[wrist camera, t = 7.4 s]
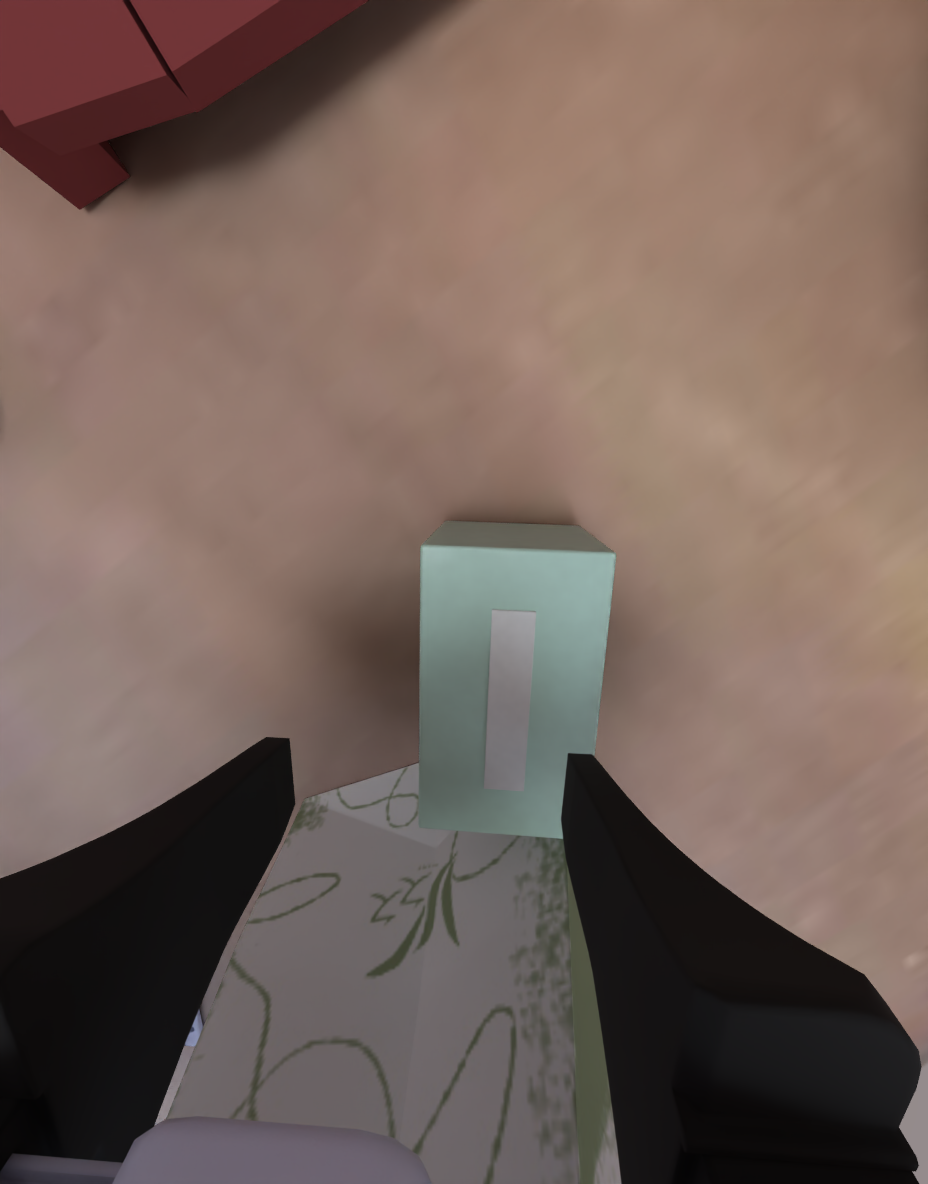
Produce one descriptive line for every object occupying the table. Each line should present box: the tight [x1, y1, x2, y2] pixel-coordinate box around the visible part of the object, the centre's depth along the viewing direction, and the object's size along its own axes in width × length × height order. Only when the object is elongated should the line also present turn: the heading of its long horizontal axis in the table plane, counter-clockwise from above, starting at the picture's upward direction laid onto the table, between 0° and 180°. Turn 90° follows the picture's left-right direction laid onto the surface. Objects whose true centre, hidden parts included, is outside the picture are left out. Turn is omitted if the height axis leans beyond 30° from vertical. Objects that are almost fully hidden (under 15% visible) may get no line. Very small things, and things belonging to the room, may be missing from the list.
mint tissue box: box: [418, 521, 616, 839], centre depth 17 cm, size 5×9×6 cm, turn 179°
